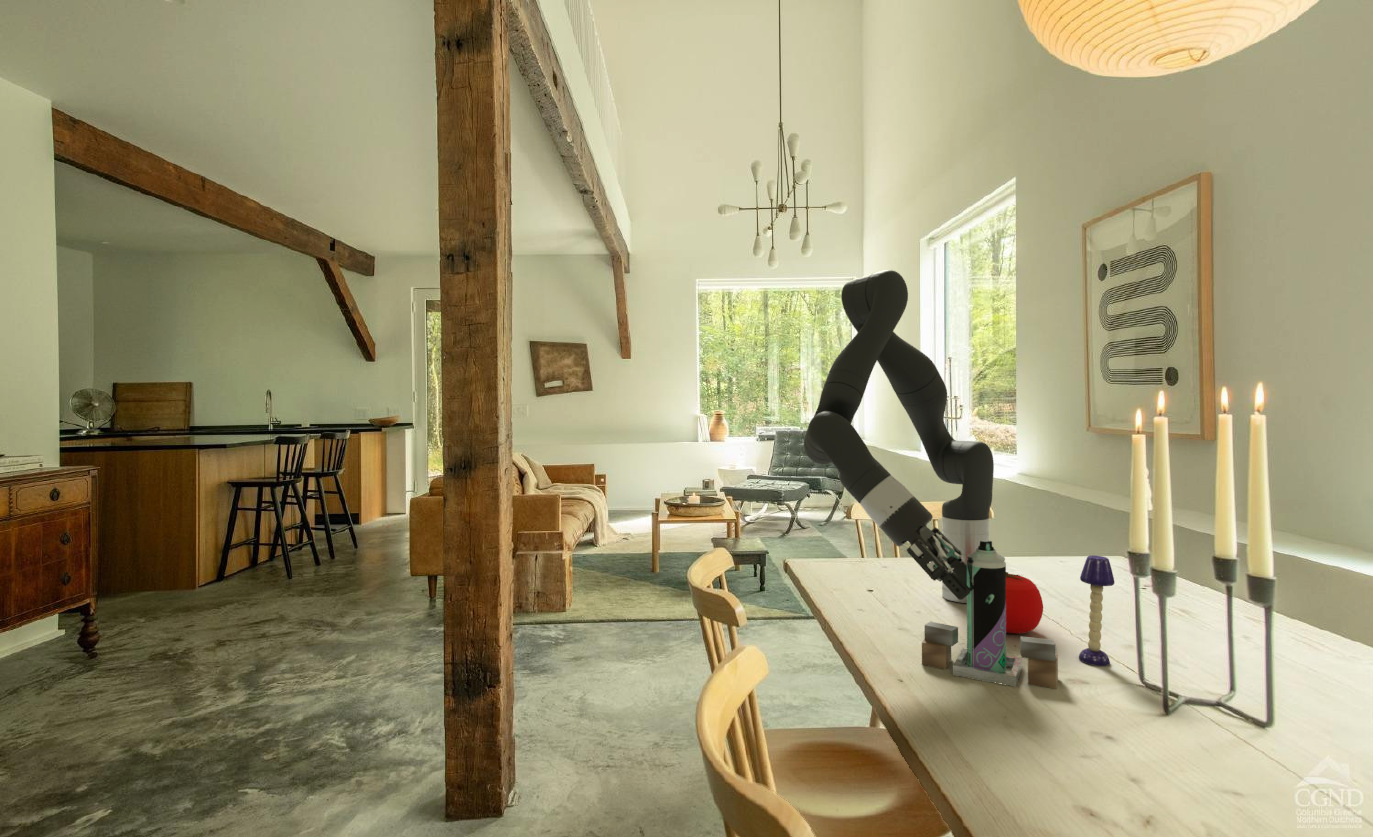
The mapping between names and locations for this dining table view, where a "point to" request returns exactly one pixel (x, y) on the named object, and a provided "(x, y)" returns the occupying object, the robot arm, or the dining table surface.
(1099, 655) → the toy lamp
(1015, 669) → the socket collar
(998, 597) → the spray can
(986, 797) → the dining table surface
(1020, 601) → the tomato
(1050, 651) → the stand
